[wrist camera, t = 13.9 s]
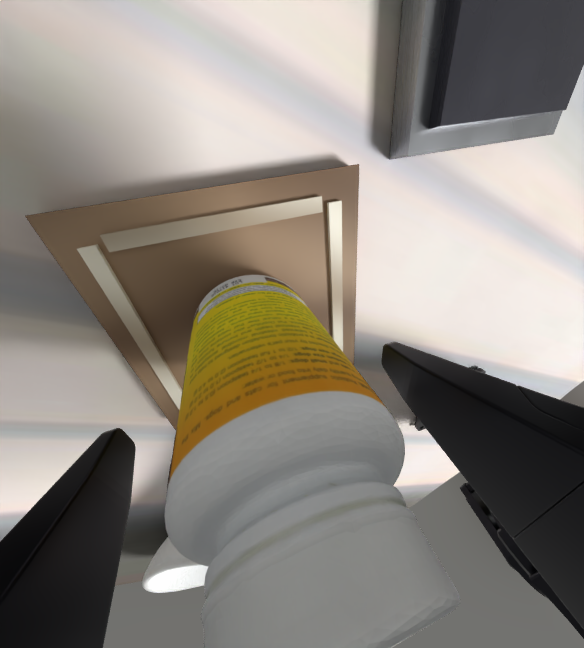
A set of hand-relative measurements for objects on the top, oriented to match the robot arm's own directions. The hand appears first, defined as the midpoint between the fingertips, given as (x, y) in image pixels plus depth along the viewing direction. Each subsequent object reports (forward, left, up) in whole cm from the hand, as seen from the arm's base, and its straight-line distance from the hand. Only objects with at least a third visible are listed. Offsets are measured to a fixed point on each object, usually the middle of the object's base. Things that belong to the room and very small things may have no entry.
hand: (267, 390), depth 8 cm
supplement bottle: (0, 0, -5) cm, 5 cm away
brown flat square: (0, 0, -6) cm, 6 cm away
